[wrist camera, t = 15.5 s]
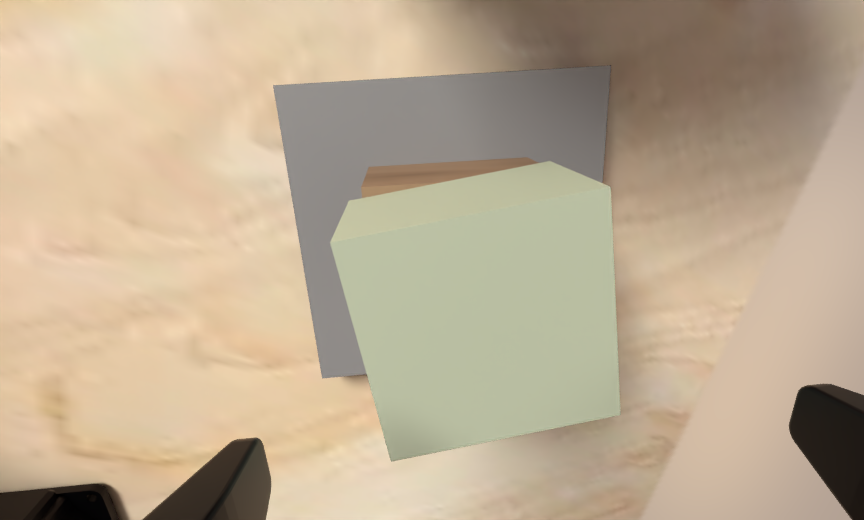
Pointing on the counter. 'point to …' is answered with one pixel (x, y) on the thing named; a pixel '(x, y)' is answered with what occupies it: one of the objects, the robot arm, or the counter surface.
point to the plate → (420, 153)
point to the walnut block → (431, 173)
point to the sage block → (483, 306)
